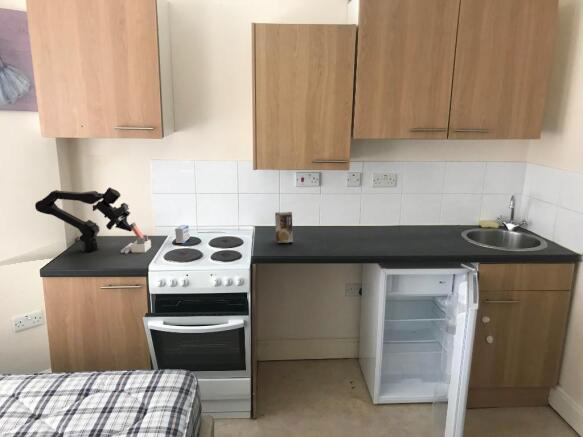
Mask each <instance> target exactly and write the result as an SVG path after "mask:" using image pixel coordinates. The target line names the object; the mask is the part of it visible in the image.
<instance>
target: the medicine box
mask: <svg viewBox="0 0 583 437" xmlns="http://www.w3.org/2000/svg"><path fill="white" fill-rule="evenodd" d="M189 227H190V226H189V225H188V224H187V225H186V224H183V225H182V224H181V225H180V226H178V227H176V228H175V229H174V232H175V234H174V235H175V240H176V243H185V242H186V241H187V240H188V239H189V238H190V228H189ZM186 243H187V242H186ZM186 243H185V244H186Z"/></svg>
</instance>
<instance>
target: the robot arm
mask: <svg viewBox="0 0 583 437" xmlns="http://www.w3.org/2000/svg"><path fill="white" fill-rule="evenodd" d="M119 198H121V193H120V192H119V191H118V190H116V189H114V188H112V187H108V188H107V189H106V191H105V192H104V193H103V192H102V193H100V192H98V191H96V190H89V191H83V192H79V191H67V190H58V189H54V190H53V191H51V192H50V193H49V194H47V195H45V197H43V198H42V199H40V200H37V201H36V202H35V204H34V206H35V210H36V211H37V212H39V213H42V214H44V215H45V214H46V215H50V216H53V217H55V218H57V219H58V220H61V221H63V222H65V223H67V224H68V225H71V226H73V227H74V228H76V229H77V230H78V231H79V232H80V234H81V235H80V236H79V240H80V242H81V243H82V247H83V248H82V249H81V250H80V251H81V252H84V253H93V252H95V251H98V250H100V247H98V242H97V239H96V237H97V235H98V234H99V233H100V226H99V225H98V223H96V222H94V221H92V220H90V219H88V220H87V221H85V220H82V219H80V218H78V217H76V216H74V215H72V214H71V213H69V212H67V211H65V210H63V209H61V208H59V206H58V205H57V204H56V201H57V200H63V201H64V200H65V201H78V202H82V203H83V204H87V205H92V212H95V211H97V210H98V211H99V212H100V213H101V214H103V216H104V218H105V219H106V218H107V219H109V221H108V223H107V224H106V225H105V227H106V228H107V229H108V230H109V231H110V230H112V229H113V227H114V228H115V229H119V230H124V231H126V232H133V230H132V229H131V228H130V227H129V225H130V224H129V223H128V217H129V215H131V212H130V211H129V210H130V208H129V204H127V203H125V202H123V203H121V204H120V206H119V207H116V206H114V207H113V206H112V205H114V204H115V203H116V202H117V201H118V199H119ZM100 200H101V201H100ZM95 203H96V204H95ZM111 204H112V205H111ZM114 225H115V226H114Z"/></svg>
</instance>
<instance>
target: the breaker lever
mask: <svg viewBox="0 0 583 437" xmlns="http://www.w3.org/2000/svg"><path fill="white" fill-rule="evenodd" d="M129 227H130V228H131V229H132V232H133V233H134V234H135V236H136V238H144V236H143V235H144V234H143V233H142V232H141V230H140V229H139V228H138V225H137V224H136V222H132V223H131V224H129ZM144 239H145V238H144Z"/></svg>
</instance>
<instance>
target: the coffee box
mask: <svg viewBox="0 0 583 437" xmlns="http://www.w3.org/2000/svg"><path fill="white" fill-rule="evenodd" d="M274 214H275V215H274V220H275V221H274V224H275V242H276V241H277V242H293V243H294V234H293V233H294V232H293V230H294V229H293V212H292V211H283V212H281V211H279V212H275V213H274Z"/></svg>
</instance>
